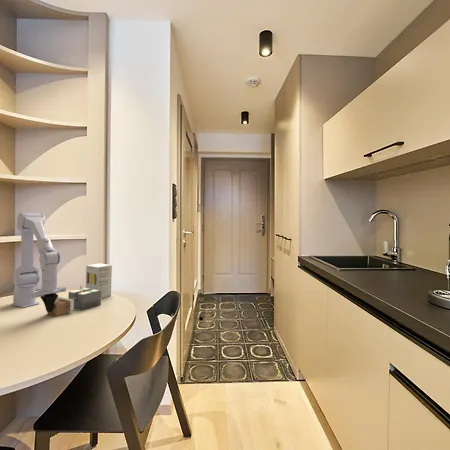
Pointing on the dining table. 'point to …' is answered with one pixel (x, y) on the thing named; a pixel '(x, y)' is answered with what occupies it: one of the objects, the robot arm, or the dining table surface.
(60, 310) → the walnut block
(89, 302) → the gauge housing
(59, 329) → the dining table surface
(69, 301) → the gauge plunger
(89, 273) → the supplement box
